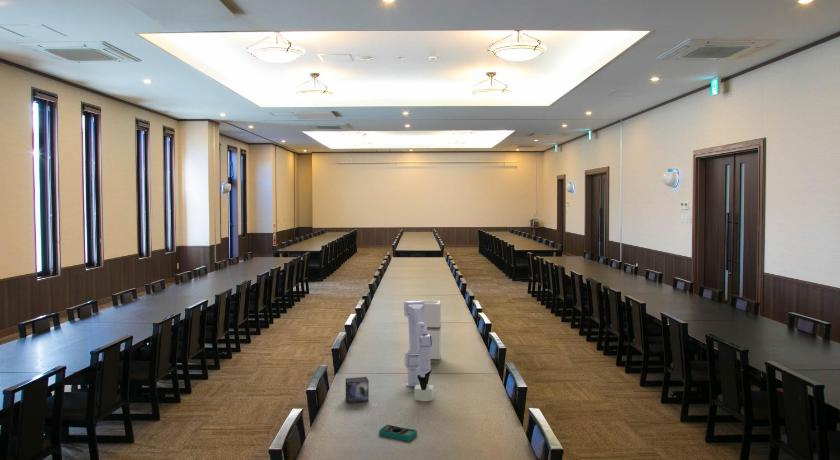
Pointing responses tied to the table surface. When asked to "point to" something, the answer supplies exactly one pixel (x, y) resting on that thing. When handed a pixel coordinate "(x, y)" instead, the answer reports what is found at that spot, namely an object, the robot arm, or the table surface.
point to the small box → (357, 389)
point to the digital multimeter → (398, 433)
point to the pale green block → (423, 393)
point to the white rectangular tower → (433, 327)
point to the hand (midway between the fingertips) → (424, 387)
